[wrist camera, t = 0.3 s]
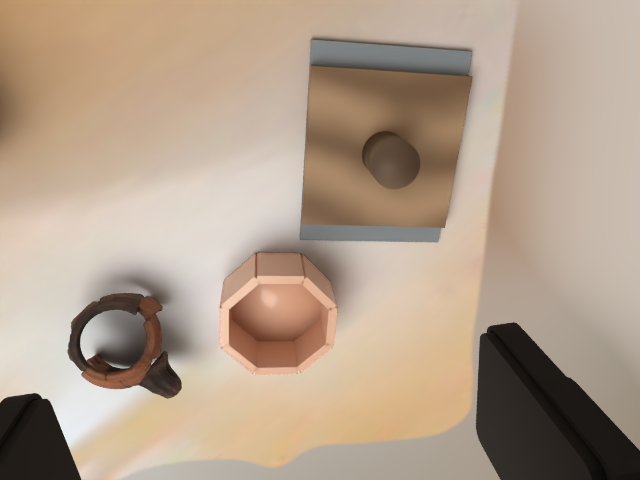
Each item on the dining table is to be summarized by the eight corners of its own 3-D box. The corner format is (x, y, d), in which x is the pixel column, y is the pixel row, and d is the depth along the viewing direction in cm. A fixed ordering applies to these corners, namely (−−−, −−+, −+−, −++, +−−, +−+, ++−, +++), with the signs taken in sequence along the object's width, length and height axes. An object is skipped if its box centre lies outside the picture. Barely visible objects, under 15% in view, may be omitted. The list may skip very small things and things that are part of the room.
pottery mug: (64, 347, 49) (33, 356, 41) (125, 274, 51) (107, 268, 43) (160, 414, 50) (148, 436, 42) (216, 339, 52) (215, 346, 44)
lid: (310, 65, 40) (317, 69, 35) (467, 75, 42) (495, 81, 37) (301, 220, 45) (306, 243, 40) (441, 223, 47) (462, 245, 42)
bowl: (223, 251, 46) (219, 275, 42) (332, 253, 48) (340, 276, 43) (224, 344, 50) (220, 375, 46) (324, 343, 52) (331, 373, 47)
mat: (311, 39, 40) (311, 39, 39) (470, 51, 41) (472, 51, 41) (299, 238, 47) (300, 239, 46) (436, 240, 48) (438, 242, 48)
